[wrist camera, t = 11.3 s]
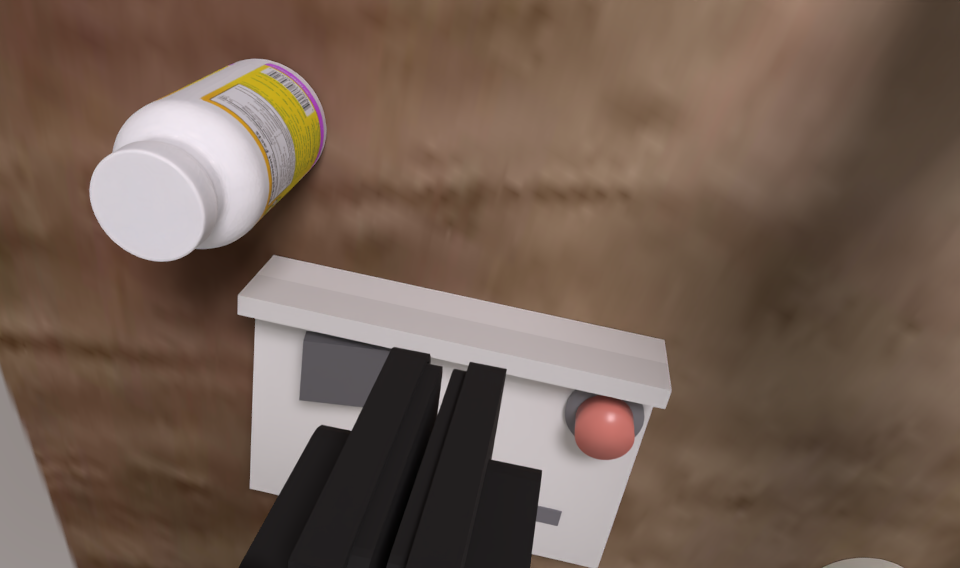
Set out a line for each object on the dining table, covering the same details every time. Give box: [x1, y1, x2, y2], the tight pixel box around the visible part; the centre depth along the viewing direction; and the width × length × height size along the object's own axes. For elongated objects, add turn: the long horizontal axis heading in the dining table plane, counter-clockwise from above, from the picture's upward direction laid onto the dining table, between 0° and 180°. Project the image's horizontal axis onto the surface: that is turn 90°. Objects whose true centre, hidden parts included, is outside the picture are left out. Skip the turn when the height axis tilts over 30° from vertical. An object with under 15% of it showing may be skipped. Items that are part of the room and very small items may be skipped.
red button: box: [575, 395, 635, 460], centre depth 42 cm, size 3×3×2 cm
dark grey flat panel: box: [299, 331, 391, 407], centre depth 43 cm, size 6×4×1 cm, turn 80°
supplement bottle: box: [90, 59, 327, 262], centre depth 35 cm, size 7×7×13 cm
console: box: [238, 255, 672, 568], centre depth 46 cm, size 23×16×5 cm
